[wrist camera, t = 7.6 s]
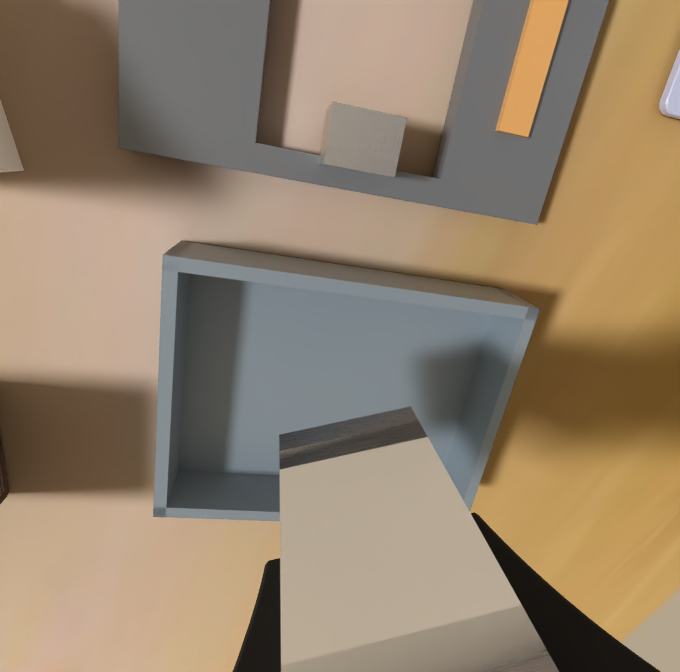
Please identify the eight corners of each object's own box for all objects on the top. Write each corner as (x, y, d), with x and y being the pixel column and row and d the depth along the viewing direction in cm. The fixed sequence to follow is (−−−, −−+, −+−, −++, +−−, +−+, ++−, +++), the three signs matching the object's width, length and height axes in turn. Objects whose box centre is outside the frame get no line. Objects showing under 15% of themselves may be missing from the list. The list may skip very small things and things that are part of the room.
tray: (503, 288, 20) (540, 308, 17) (441, 485, 23) (464, 528, 21) (181, 240, 17) (162, 254, 14) (169, 470, 21) (153, 516, 18)
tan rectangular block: (410, 406, 13) (585, 720, 6) (422, 507, 15) (573, 860, 7) (279, 434, 13) (281, 802, 5) (305, 534, 14) (335, 930, 7)
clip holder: (624, -102, 15) (703, -162, 12) (524, 221, 19) (566, 231, 16) (131, -277, 12) (87, -410, 9) (127, 149, 16) (95, 145, 13)
